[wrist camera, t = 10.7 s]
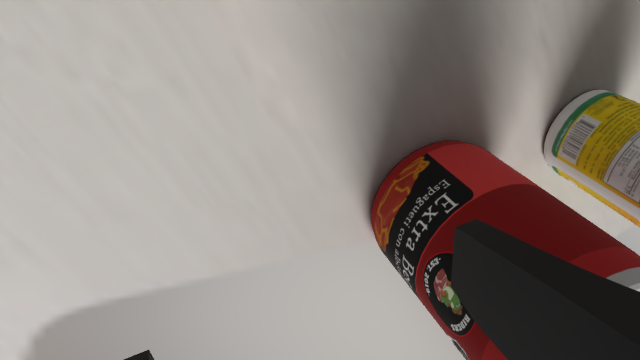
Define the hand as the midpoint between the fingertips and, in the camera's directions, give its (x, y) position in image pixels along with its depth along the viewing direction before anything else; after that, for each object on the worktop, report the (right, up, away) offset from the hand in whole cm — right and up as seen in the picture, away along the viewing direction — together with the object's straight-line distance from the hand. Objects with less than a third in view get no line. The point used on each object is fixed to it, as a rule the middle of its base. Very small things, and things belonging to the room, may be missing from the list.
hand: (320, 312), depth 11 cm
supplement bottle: (+15, +6, +17) cm, 24 cm away
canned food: (+6, +2, +15) cm, 17 cm away
